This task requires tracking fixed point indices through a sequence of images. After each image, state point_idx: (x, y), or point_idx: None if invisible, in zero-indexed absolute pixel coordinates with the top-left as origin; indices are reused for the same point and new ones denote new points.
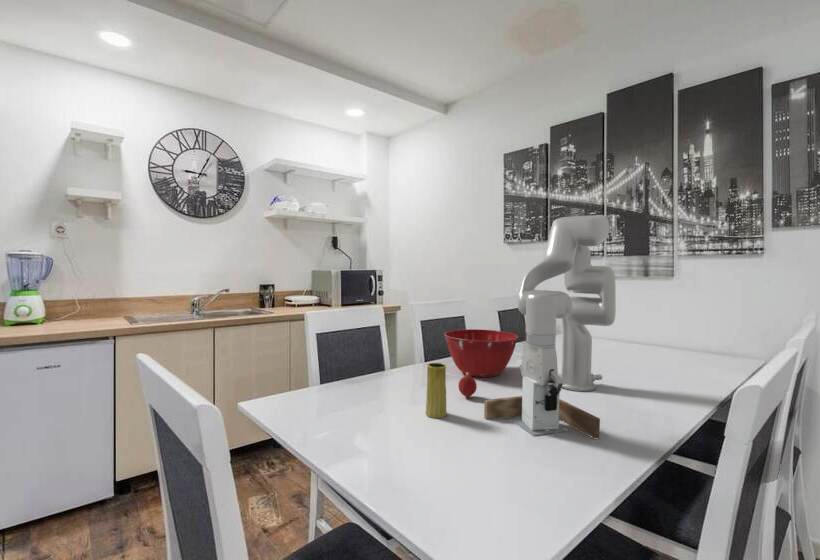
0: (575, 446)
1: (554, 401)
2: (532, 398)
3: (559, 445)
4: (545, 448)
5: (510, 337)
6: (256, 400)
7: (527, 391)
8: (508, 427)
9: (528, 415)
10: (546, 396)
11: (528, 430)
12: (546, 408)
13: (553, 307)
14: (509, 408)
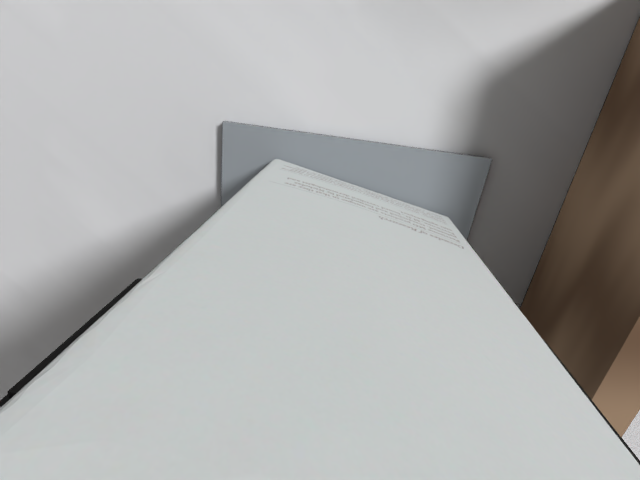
0: (51, 237)
1: None
2: (201, 251)
3: (74, 170)
4: (47, 57)
5: None
6: None
7: (375, 333)
8: (421, 52)
9: (332, 198)
10: (22, 384)
11: (295, 141)
12: (127, 290)
13: None
14: (607, 217)
